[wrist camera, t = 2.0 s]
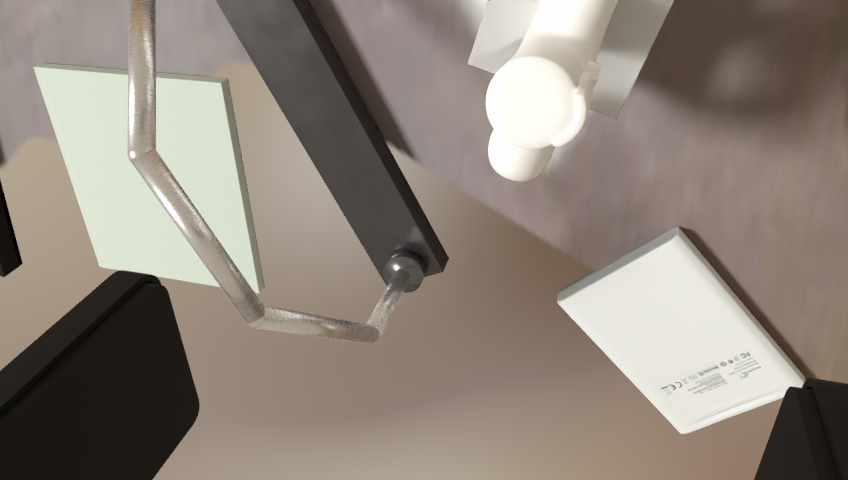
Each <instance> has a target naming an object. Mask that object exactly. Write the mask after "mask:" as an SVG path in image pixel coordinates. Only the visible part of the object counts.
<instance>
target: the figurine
mask: <svg viewBox="0 0 848 480" xmlns="http://www.w3.org/2000/svg"><path fill="white" fill-rule="evenodd" d="M673 2H674V0H488V2H487V5H486V8H485V11H484V14H483V18H482V21H481V24H480V27H479V30H478V33H477V36H476V39H475V43H474V46H473V49H472V52H471V55H470V58H469V61H468V64H470V65H472V66H475V67H478V68H480V69H483V70H486V71H489V72H491V73H494V74H495V75H494V77H493V78H492V80H491V82H490V84H489V87H488V90H487V94H486V110H487V114H488V118H489V120H490V123H491V125H492V126H493V128H494V130H493V132H492V134H491V137H490V140H489V146H488V155H489V160H490V163H491V165H492V167H493V168H494V169H495V171H496V172H498V173H499V174H500V175H502V176H503V177H505V178H507V179H510V180H514V181H527V180H530V179H532V178H534V177H536V176H537V175H539V174H540V173H541V172H542V171H543V170H544V168H545V167H546V166H547V164H548V162H549V160H550V158H551V156H552V153H553V151H554V148H555V147H558V148H559V147H563V146H565V145H567V144H568V143H570V142H571V141H572V140H574V139H575V138H576V137H577V136H578V134H579V133H580V132H581V131H582V129H583V127H584V126H585V123H586V120H587V118H588V113H589V109H591V110H594V111H596V112H599V113H602V114H604V115H607V116H610V117H613V118H615V119H617V118H618V115H619V113H620V111H621V109H622V107H623V105H624V103H625V101H626V99H627V97H628V95H629V93H630V91H631V89H632V87H633V84H634V82H635V80H636V78H637V76H638V74H639V72H640V70H641V68H642V66H643V64H644V62H645V60H646V58H647V56H648V53H649V51H650V49H651V47H652V45H653V43H654V41H655V39H656V37H657V35H658V33H659V31H660V29H661V27H662V25H663V22H664V20H665V18H666V16H667V14H668V12H669V10H670V8H671V6H672V4H673Z"/></svg>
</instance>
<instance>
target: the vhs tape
mask: <svg viewBox="0 0 848 480" xmlns="http://www.w3.org/2000/svg"><path fill="white" fill-rule="evenodd" d="M22 264H23V263H22V259H21V255H20V251H19V248H18V244H17V240H16V236H15V233H14V229H13V225H12V221H11V218H10V214H9V210H8V207H7V203H6V199H5V195H4V191H3V187H2V184H1V180H0V276H2V277H5V276H6V275H8V274H9V273H10V272H12V271H13V270H15V269H16V268H18V267H19V266H20V265H22Z"/></svg>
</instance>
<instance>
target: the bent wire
mask: <svg viewBox="0 0 848 480" xmlns="http://www.w3.org/2000/svg"><path fill="white" fill-rule="evenodd" d="M216 1H217V3H218V5H219V6H220V8H221V10H222V11H223V13H224V15H225V16H226V18H227V20H228V21H229V23H230V25H231V26H232V28H233V30H234V31H235V33H236V35H237V36H238V38H239V40H240V41H241V43H242V45H243V46H244V48H245V50H246V51H247V53H248V55H249V56H250V58H251V60H252V61H253V63H254V65H255V66H256V68H257V70H258V71H259V73H260V75H261V76H262V78H263V80H264V81H265V83H266V85H267V86H268V88H269V90H270V91H271V93H272V95H273V96H274V98H275V100H276V101H277V103H278V105H279V107H280V108H281V110H282V112H283V113H284V115H285V117H286V118H287V120H288V122H289V123H290V125H291V126H292V128H293V130H294V132H295V133H296V135H297V137H298V138H299V140H300V141H301V143H302V145H303V146H304V148H305V150H306V152H307V153H308V155H309V157H310V158H311V160H312V161H313V163H314V165H315V167H316V168H317V170H318V172H319V173H320V175H321V177H322V178H323V180H324V182H325V183H326V185H327V187H328V188H329V190H330V192H331V193H332V195H333V197H334V199H335V200H336V202H337V203H338V205H339V207H340V209H341V210H342V212H343V214H344V215H345V217H346V218H347V220H348V222H349V224H350V225H351V227H352V229H353V230H354V232H355V234H356V235H357V237H358V238H359V240H360V242H361V244H362V245H363V247H364V249H365V250H366V252H367V254H368V255H369V257H370V259H371V260H372V262H373V264H374V265H375V267H376V269H377V270H378V272H379V274H380V275H381V277H382V279H383V280H384V282H385V284H386V285H387V287H386V289H385V291H384V293H383V295H382V296H381V298H380V300H379V302H378V304H377V306H376V308H375V310H374V311H373V313H372V315H371V317H370V319H369V320H368V322H367V324H365V323H359V322H353V321H347V320H342V319H337V318H331V317H326V316H320V315H315V314H309V313H303V312H298V311H292V310H287V309H281V308H276V307H270V306H265V305H263V304H262V302H261V301H260V299H259V298H258V296H257V295H256V294H255V292H254V291H253V289H252V288H251V286H250V285H249V283H248V282H247V281H246V279H245V278H244V276H243V275H242V273H241V272H240V270H239V269H238V268H237V266H236V265H235V263H234V262H233V260H232V259H231V257H230V256H229V255H228V253H227V252H226V250H225V249H224V247H223V246H222V244H221V243H220V242H219V240H218V239H217V237H216V236H215V234H214V233H213V231H212V230H211V229H210V227H209V226H208V224H207V223H206V221H205V220H204V219H203V217H202V216H201V214H200V213H199V211H198V210H197V208H196V207H195V206H194V204H193V203H192V201H191V200H190V198H189V197H188V195H187V194H186V193H185V191H184V190H183V188H182V187H181V185H180V184H179V182H178V181H177V180H176V178H175V177H174V175H173V174H172V172H171V171H170V169H169V168H168V167H167V165H166V164H165V162H164V161H163V159H162V158H161V156H160V155H159V154H158V152H157V151H156V0H129V67H128V152H127V153H128V158H129V160H130V161H131V163H132V164H133V165H134V167H135V168H136V170H137V171H138V172H139V174H140V175H141V177H142V178H143V179H144V181H145V182H146V184H147V185H148V186H149V188H150V189H151V191H152V192H153V193H154V195H155V196H156V198H157V199H158V200H159V202H160V203H161V205H162V206H163V207H164V209H165V210H166V212H167V213H168V214H169V216H170V217H171V219H172V220H173V221H174V223H175V224H176V226H177V227H178V228H179V230H180V231H181V233H182V234H183V235H184V237H185V238H186V240H187V241H188V242H189V244H190V245H191V246H192V248H193V249H194V251H195V252H196V253H197V255H198V256H199V258H200V259H201V260H202V262H203V263H204V265H205V266H206V267H207V269H208V270H209V272H210V273H211V274H212V276H213V277H214V279H215V280H216V281H217V283H218V284H219V286H220V287H221V288H222V290H223V291H224V293H225V294H226V295H227V297H228V298H229V300H230V301H231V302H232V304H233V305H234V307H235V308H236V309H237V311H238V312H239V314H240V315H241V316H242V318H243V319H244V321H245V322H246V323H247V324H248V325H249V326H250V327H252V328H259V329H266V330H274V331H281V332H288V333H295V334H302V335H309V336H317V337H325V338H332V339H339V340H346V341H353V342H360V343H368V344H374V343H376V342H378V341H379V339H380V338H381V335H382V333H383V332H384V330H385V328H386V326H387V324H388V322H389V320H390V318H391V316H392V314H393V312H394V310H395V308H396V306H397V304H398V302H399V300H400V298H401V296H402V294H403V292H412V291H415V290H416V289H417V288H418V287H419V286H420V284H421V282H422V280H423V278H424V277H426V276H429V275H433V274H436V273H440V272H443V270H444V268H445V265H446V263H447V261H448V259H449V258H448V256H447V254H446V252H445V250H444V249H443V247H442V245H441V243H440V241H439V239H438V238H437V236H436V234H435V232H434V231H433V229H432V227H431V225H430V223H429V221H428V219H427V218H426V216H425V214H424V212H423V210H422V208H421V206H420V205H419V203H418V201H417V199H416V197H415V195H414V194H413V192H412V190H411V188H410V186H409V184H408V182H407V181H406V179H405V177H404V175H403V173H402V172H401V170H400V168H399V166H398V164H397V162H396V161H395V159H394V157H393V155H392V153H391V151H390V149H389V148H388V146H387V144H386V142H385V140H384V138H383V137H382V135H381V133H380V131H379V129H378V127H377V126H376V124H375V122H374V120H373V118H372V116H371V114H370V113H369V111H368V109H367V107H366V105H365V103H364V102H363V100H362V98H361V96H360V94H359V92H358V91H357V89H356V87H355V85H354V83H353V81H352V80H351V78H350V76H349V74H348V72H347V70H346V69H345V67H344V65H343V63H342V61H341V59H340V57H339V56H338V54H337V52H336V50H335V48H334V46H333V45H332V43H331V41H330V39H329V37H328V35H327V34H326V32H325V30H324V28H323V26H322V24H321V23H320V21H319V19H318V17H317V15H316V13H315V12H314V10H313V8H312V6H311V4H310V2H309V1H308V0H216Z"/></svg>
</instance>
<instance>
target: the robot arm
mask: <svg viewBox="0 0 848 480" xmlns="http://www.w3.org/2000/svg"><path fill="white" fill-rule="evenodd" d="M198 412H199V399H198V396H197V392H196V388H195V385H194V381H193V378H192V374H191V371H190V368H189V364H188V360H187V357H186V354H185V350H184V346H183V343H182V340H181V336H180V332H179V329H178V325H177V322H176V318H175V315H174V311H173V308H172V304H171V301H170V297H169V294H168V291H167V289H166V288H165V287H164V286H162V285H161V283H160V281H159V279H158V278H157V277H156V276H154V275H151V274H145V273H138V272H132V271H125V270H121V271H117V272H115V273H114V274H112V275H111V276H110V277H108V278H107V279H106V280H105V281H104V282H103V283H101V284H100V285H99V286H98V287H97V288H96V289H95V290H93V291H92V292H91V293H90V294H89V295H88V296H86V297H85V298H84V299H83V300H82V301H81V302H79V303H78V304H77V305H76V306H75V307H74V308H73V309H71V310H70V311H69V312H68V313H67V314H66V315H65V316H63V317H62V318H61V319H60V320H59V321H57V322H56V323H55V324H54V325H53V326H52V327H51V328H49V329H48V330H47V331H46V332H45V333H44V334H42V335H41V336H40V337H39V338H38V339H37V340H36V341H34V342H33V343H32V344H31V345H30V346H29V347H27V348H26V349H25V350H24V351H23V352H22V353H20V354H19V355H18V356H17V357H16V358H15V359H13V360H12V361H11V362H10V363H9V364H8V365H7V366H5V367H4V368H3V369H2V370H1V371H0V480H152V479H153V478H154V477H155V475H156V474H157V473H158V471H159V470H160V468H161V467H162V466H163V464H164V463H165V462H166V460H167V459H168V458H169V456H170V455H171V454H172V452H173V451H174V450H175V448H176V447H177V446H178V444H179V443H180V441H181V440H182V439H183V437H184V436H185V435H186V433H187V432H188V431H189V429H190V428H191V427H192V425H193V424H194V422H195V421H196V418H197V416H198ZM754 480H848V384H845V383H839V382H832V381H826V380H819V379H813V378H808V379H807V380H806V381H805V382H804V384H803V386H802V388H799V387H789V388H788V389H787V391H786V393H785V396H784V398H783V401H782V404H781V407H780V410H779V413H778V415H777V418H776V421H775V424H774V426H773V429H772V432H771V435H770V437H769V440H768V443H767V445H766V449H765V451H764V454H763V457H762V459H761V462H760V465H759V468H758V470H757V473H756V476H755V479H754Z"/></svg>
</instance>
